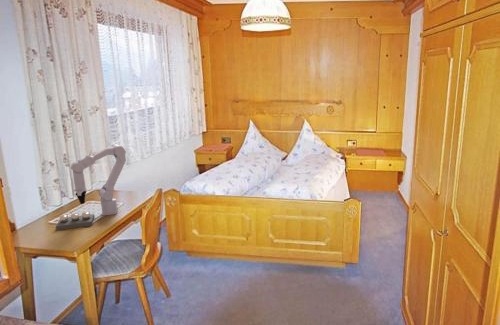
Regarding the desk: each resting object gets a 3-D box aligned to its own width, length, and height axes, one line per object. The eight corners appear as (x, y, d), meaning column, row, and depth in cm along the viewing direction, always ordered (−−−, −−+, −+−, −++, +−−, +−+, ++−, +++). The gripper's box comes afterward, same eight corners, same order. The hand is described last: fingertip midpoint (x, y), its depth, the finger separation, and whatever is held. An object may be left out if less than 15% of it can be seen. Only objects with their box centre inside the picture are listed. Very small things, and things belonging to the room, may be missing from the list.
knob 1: (70, 223, 223) (68, 214, 221) (68, 225, 219) (67, 217, 217) (61, 224, 222) (60, 215, 220) (60, 227, 218) (58, 218, 216)
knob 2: (91, 220, 226) (90, 211, 224) (90, 223, 222) (89, 214, 220) (83, 221, 225) (82, 212, 223) (82, 224, 220) (81, 215, 219)
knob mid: (80, 221, 224) (79, 212, 223) (79, 224, 220) (78, 215, 219) (72, 222, 223) (71, 213, 222) (71, 225, 219) (70, 216, 218)
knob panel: (94, 217, 230) (94, 213, 229) (92, 225, 218) (91, 221, 218) (60, 222, 225) (60, 218, 224) (56, 230, 214) (55, 226, 213)
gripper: (74, 179, 229) (77, 200, 232) (70, 186, 215) (73, 208, 218) (86, 178, 231) (89, 199, 234) (83, 184, 217) (86, 206, 220)
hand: (82, 203), depth 226 cm, fingers closed
